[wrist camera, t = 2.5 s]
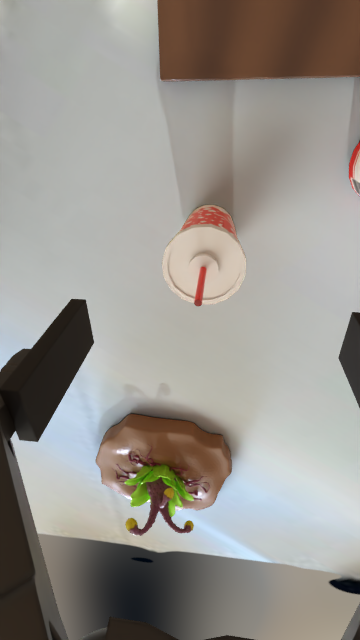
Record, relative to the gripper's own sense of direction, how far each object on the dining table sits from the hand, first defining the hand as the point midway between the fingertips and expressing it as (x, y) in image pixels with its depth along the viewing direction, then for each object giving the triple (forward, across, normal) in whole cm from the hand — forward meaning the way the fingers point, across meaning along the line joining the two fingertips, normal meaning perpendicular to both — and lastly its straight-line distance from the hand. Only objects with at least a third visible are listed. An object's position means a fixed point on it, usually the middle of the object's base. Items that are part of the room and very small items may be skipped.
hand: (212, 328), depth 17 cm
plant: (+18, -7, -36) cm, 41 cm away
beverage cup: (+18, -1, 0) cm, 18 cm away
